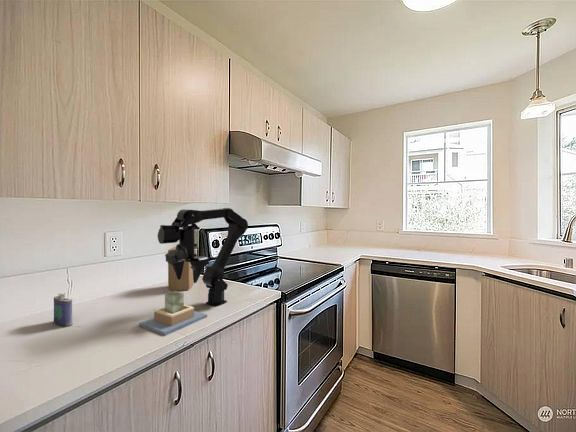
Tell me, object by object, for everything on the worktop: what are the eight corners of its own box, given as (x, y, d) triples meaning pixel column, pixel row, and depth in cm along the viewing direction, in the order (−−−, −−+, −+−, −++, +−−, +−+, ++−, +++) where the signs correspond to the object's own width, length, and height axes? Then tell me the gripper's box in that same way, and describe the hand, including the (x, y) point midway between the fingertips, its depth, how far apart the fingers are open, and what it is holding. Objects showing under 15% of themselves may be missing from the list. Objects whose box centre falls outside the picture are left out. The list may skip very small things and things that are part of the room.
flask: (74, 324, 99) (73, 294, 99) (64, 328, 97) (63, 296, 96) (60, 319, 104) (59, 290, 103) (50, 322, 101) (49, 292, 101)
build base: (182, 309, 115) (181, 298, 115) (207, 316, 108) (207, 304, 107) (139, 325, 99) (138, 312, 99) (165, 335, 92) (165, 321, 92)
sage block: (175, 307, 106) (175, 291, 106) (183, 309, 104) (183, 293, 104) (164, 310, 103) (164, 294, 102) (173, 313, 100) (173, 296, 100)
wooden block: (174, 285, 149) (173, 246, 148) (193, 284, 150) (193, 246, 149) (167, 290, 139) (167, 249, 138) (189, 290, 140) (189, 249, 139)
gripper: (153, 241, 110) (153, 282, 111) (186, 245, 100) (186, 290, 101) (177, 239, 120) (177, 276, 120) (210, 242, 110) (210, 282, 111)
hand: (187, 281), depth 113 cm, fingers open, 9 cm apart
